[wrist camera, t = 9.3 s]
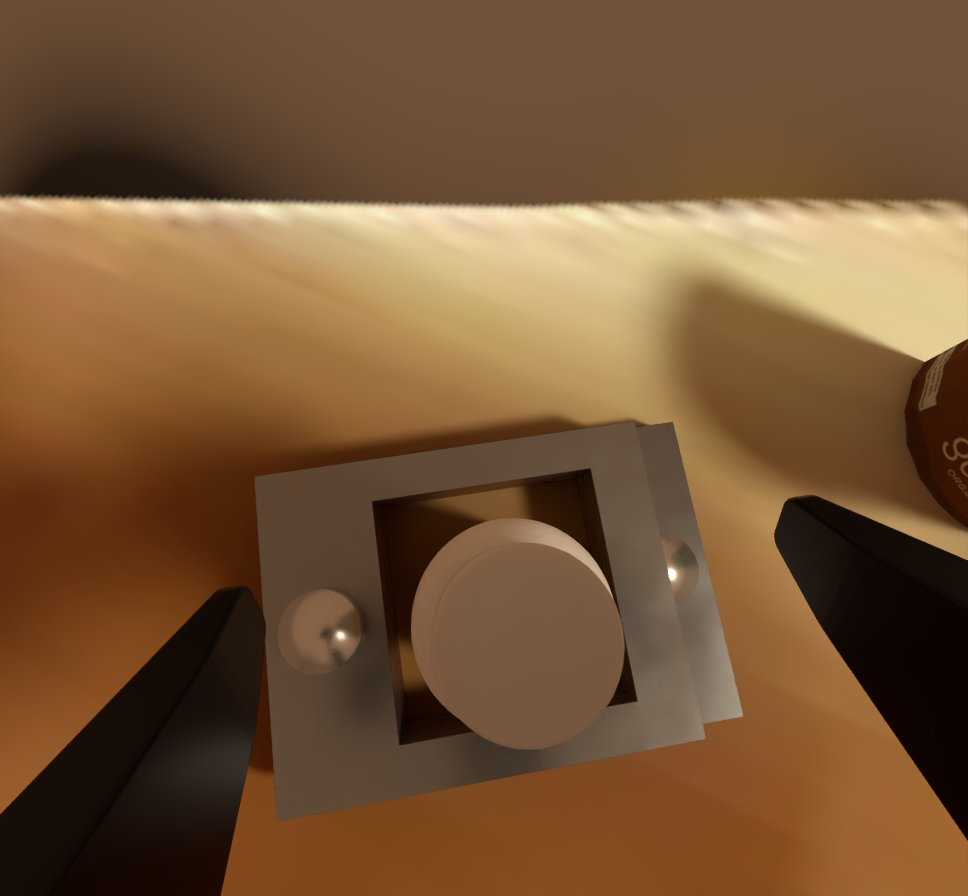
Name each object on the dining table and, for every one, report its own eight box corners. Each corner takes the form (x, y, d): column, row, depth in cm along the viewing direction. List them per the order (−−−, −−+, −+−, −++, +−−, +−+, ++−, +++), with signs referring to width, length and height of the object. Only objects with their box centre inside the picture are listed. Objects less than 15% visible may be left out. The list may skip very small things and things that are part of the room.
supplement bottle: (588, 569, 20) (703, 586, 10) (526, 698, 19) (590, 849, 9) (470, 504, 20) (476, 462, 11) (402, 627, 19) (342, 702, 10)
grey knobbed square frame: (661, 428, 21) (695, 407, 18) (726, 705, 19) (777, 736, 16) (279, 485, 20) (244, 473, 17) (301, 786, 18) (267, 835, 15)
